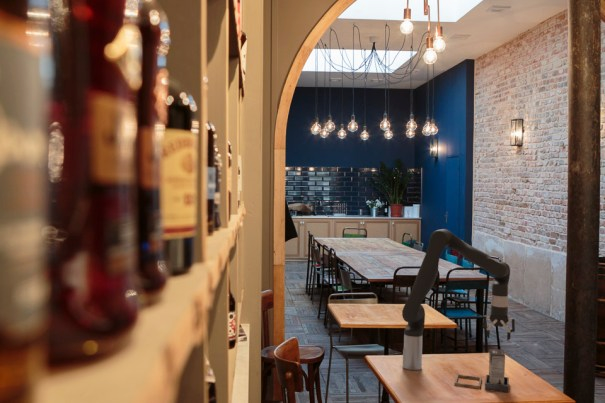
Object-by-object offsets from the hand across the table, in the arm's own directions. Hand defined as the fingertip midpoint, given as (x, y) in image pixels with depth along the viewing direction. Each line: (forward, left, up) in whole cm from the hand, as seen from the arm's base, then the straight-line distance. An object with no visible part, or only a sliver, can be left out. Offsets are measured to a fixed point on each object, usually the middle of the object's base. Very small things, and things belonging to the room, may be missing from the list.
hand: (498, 339), depth 261 cm
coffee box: (0, 0, -22) cm, 22 cm away
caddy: (0, 0, -23) cm, 23 cm away
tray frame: (-13, 0, -23) cm, 26 cm away
